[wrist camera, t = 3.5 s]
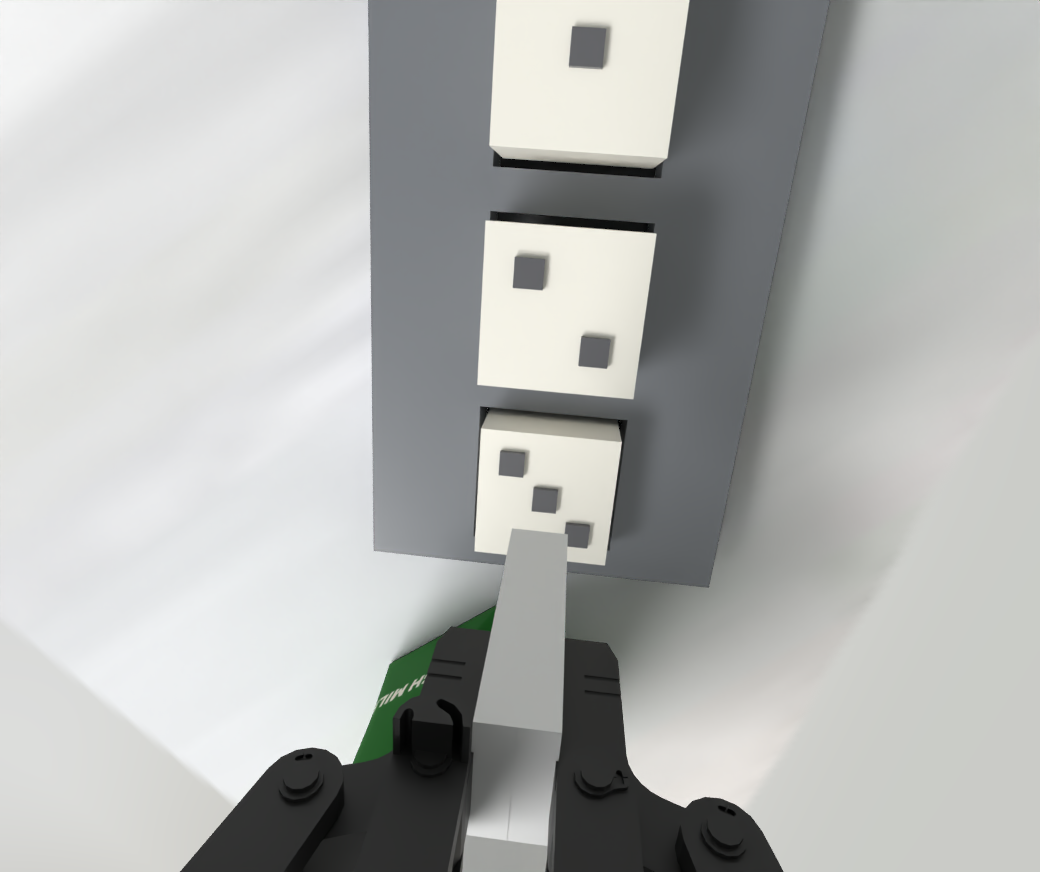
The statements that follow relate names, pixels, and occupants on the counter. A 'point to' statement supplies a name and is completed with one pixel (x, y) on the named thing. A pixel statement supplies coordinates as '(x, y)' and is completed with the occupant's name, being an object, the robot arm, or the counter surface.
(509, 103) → the key one
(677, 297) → the keypad board
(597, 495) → the key three
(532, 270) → the key two
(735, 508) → the counter surface
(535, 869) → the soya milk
